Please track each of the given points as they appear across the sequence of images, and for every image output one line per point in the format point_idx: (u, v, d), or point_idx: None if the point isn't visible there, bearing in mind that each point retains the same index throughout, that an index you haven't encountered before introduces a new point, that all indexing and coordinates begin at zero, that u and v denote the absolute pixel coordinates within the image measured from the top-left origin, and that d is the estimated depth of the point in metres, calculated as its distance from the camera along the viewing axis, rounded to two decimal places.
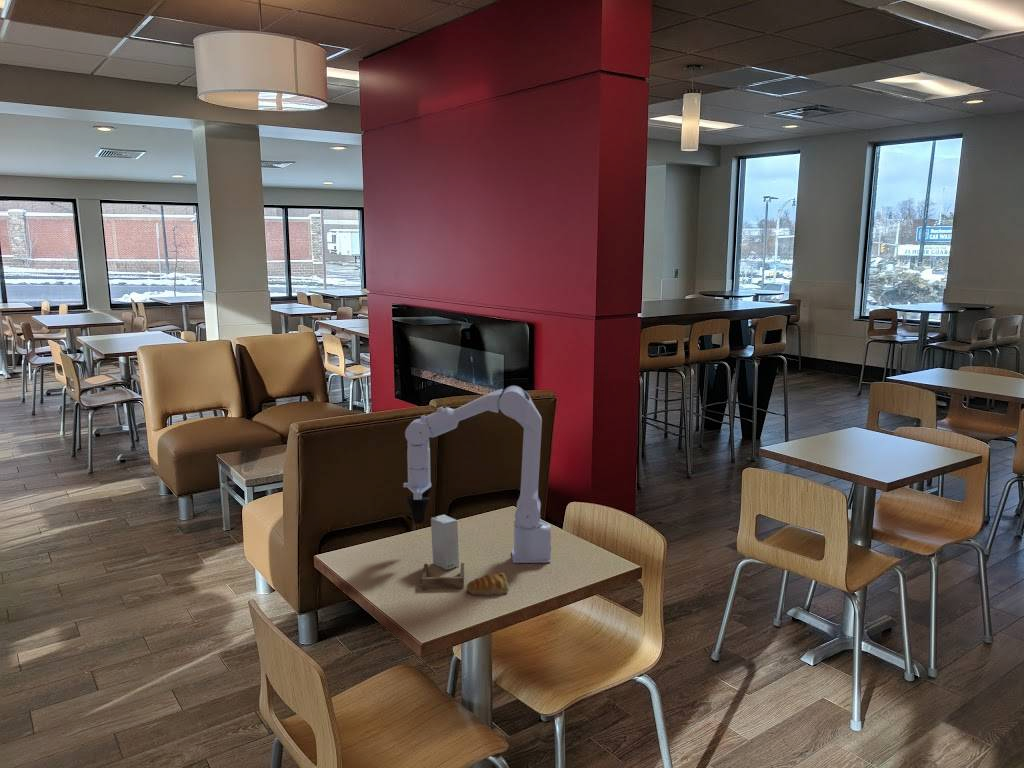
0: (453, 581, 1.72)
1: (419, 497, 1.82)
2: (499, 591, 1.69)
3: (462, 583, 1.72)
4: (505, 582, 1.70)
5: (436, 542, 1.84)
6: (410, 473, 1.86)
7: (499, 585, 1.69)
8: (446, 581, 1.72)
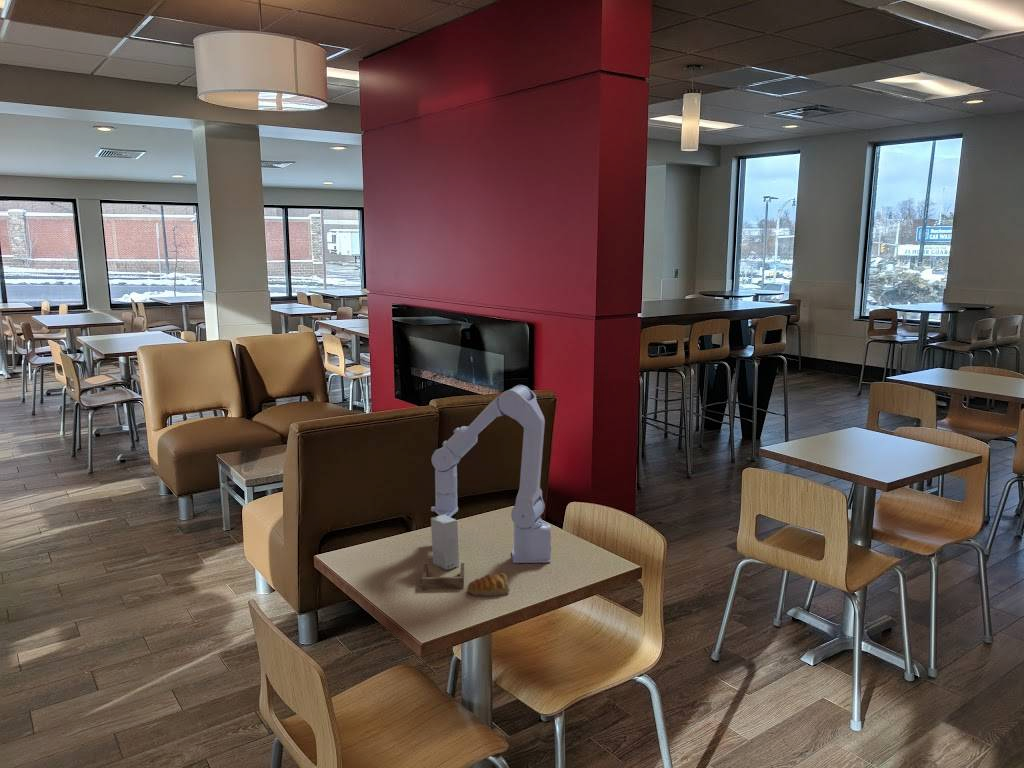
0: (453, 581, 1.72)
1: None
2: (500, 591, 1.69)
3: (462, 583, 1.72)
4: (506, 582, 1.70)
5: (436, 542, 1.84)
6: (438, 497, 1.93)
7: (500, 585, 1.68)
8: (446, 581, 1.72)
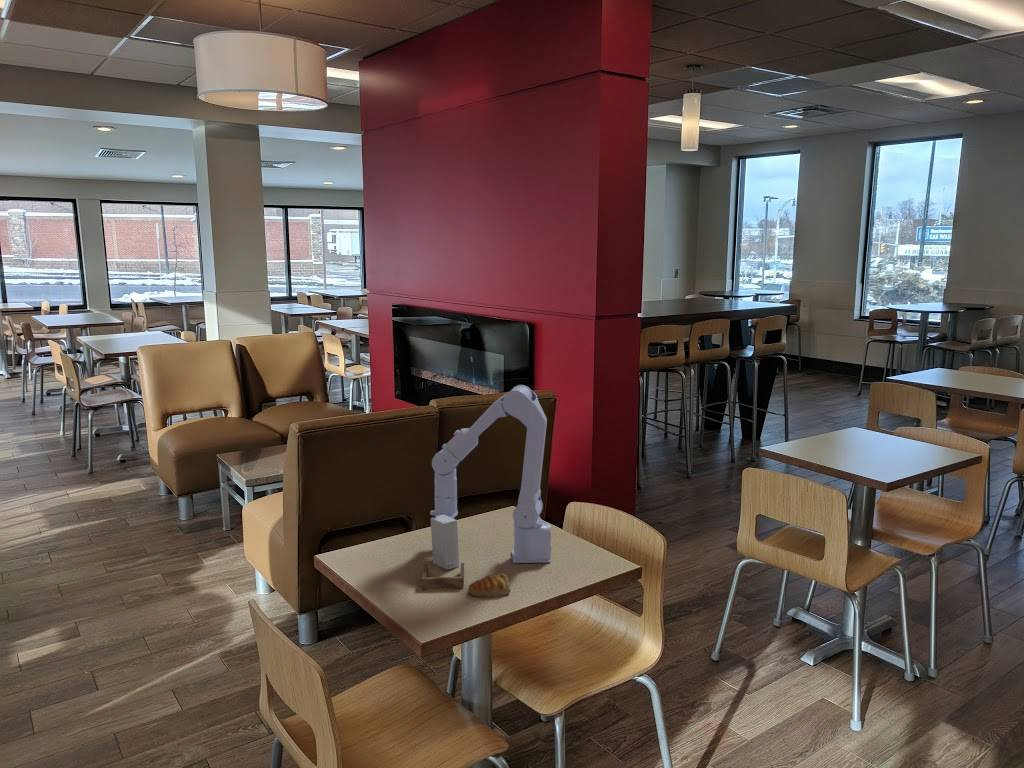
0: (453, 581, 1.72)
1: None
2: (501, 592, 1.68)
3: (462, 583, 1.72)
4: (507, 583, 1.69)
5: (436, 542, 1.84)
6: (437, 501, 1.90)
7: (501, 586, 1.68)
8: (446, 581, 1.72)
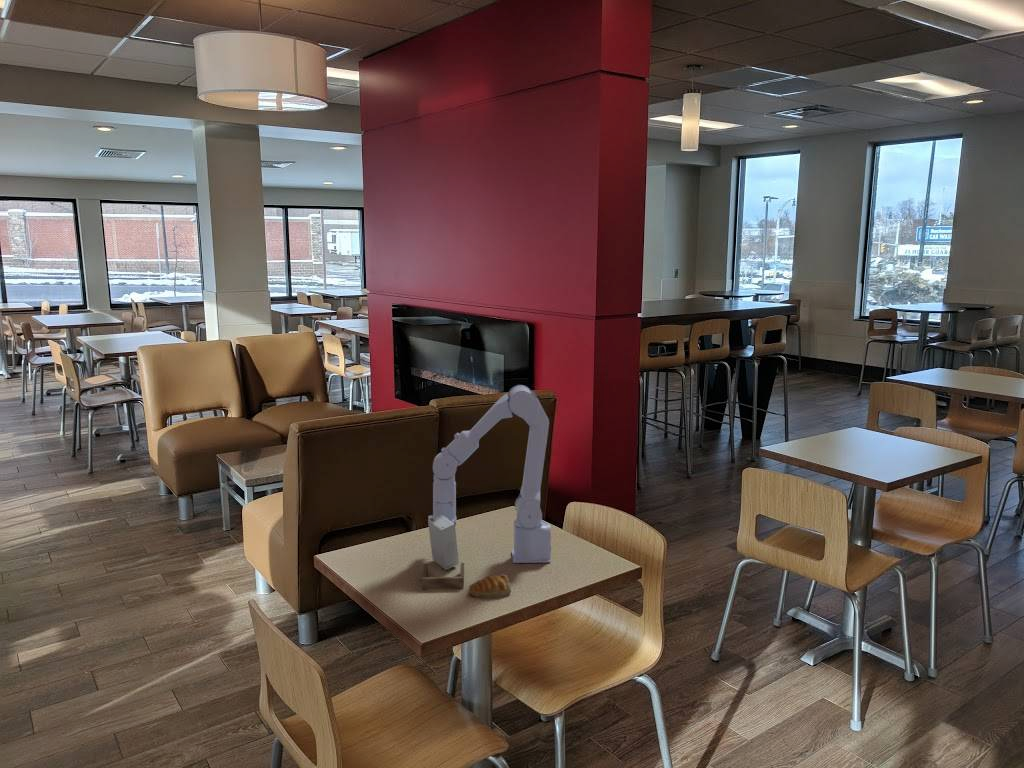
0: (453, 581, 1.72)
1: None
2: (502, 593, 1.68)
3: (462, 583, 1.72)
4: (508, 584, 1.69)
5: (434, 543, 1.82)
6: (435, 506, 1.85)
7: (502, 586, 1.68)
8: (446, 581, 1.72)
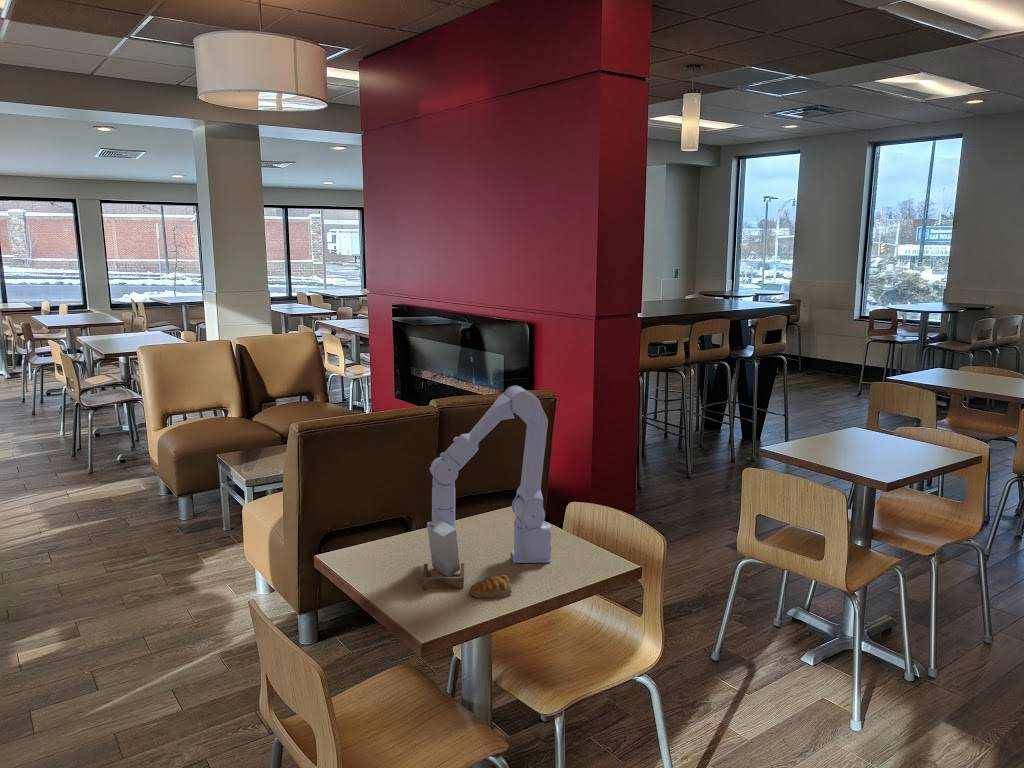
0: (453, 581, 1.72)
1: None
2: (503, 593, 1.68)
3: (462, 583, 1.72)
4: (508, 584, 1.69)
5: (435, 550, 1.77)
6: (434, 513, 1.81)
7: (503, 587, 1.67)
8: (446, 581, 1.72)
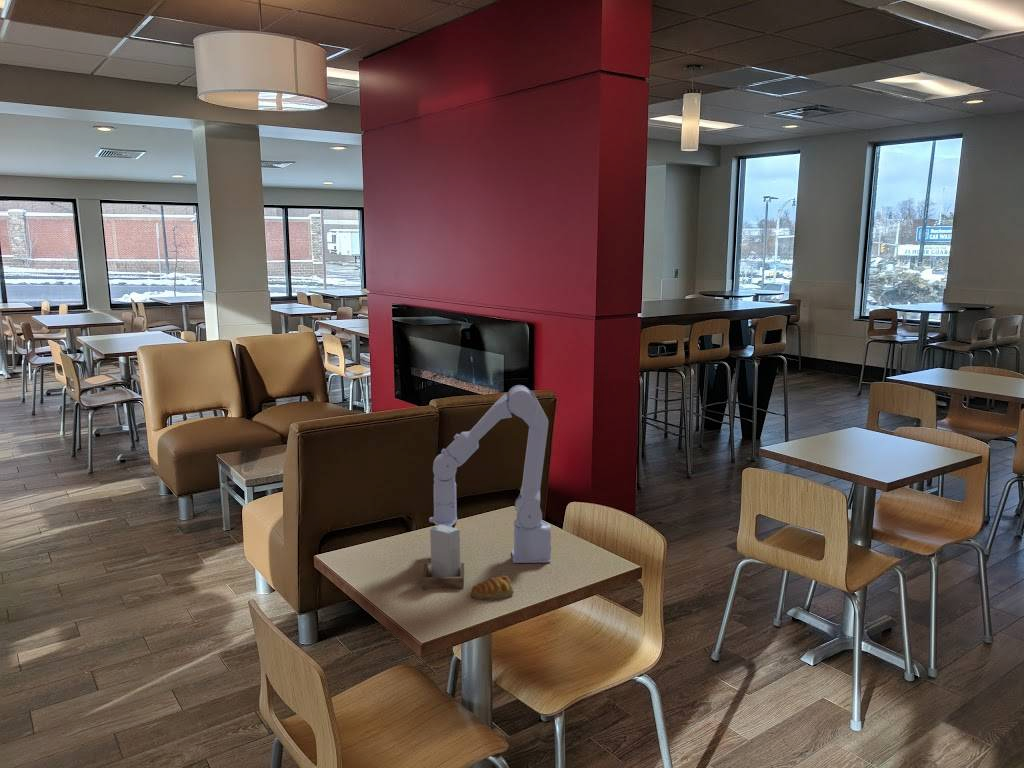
0: (453, 581, 1.72)
1: None
2: (505, 594, 1.67)
3: (462, 583, 1.72)
4: (510, 585, 1.68)
5: (437, 553, 1.76)
6: (436, 508, 1.85)
7: (505, 588, 1.67)
8: (446, 581, 1.72)
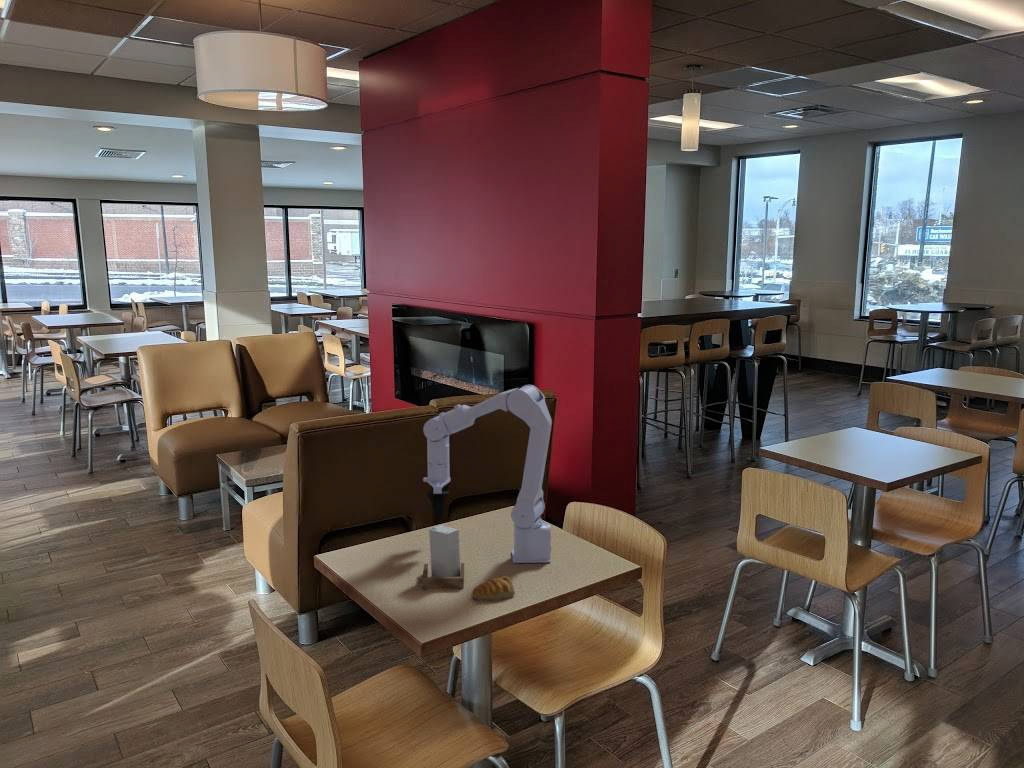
0: (453, 581, 1.72)
1: (439, 491, 1.88)
2: (506, 595, 1.67)
3: (462, 583, 1.72)
4: (511, 585, 1.68)
5: (436, 554, 1.76)
6: (430, 468, 1.93)
7: (506, 588, 1.67)
8: (446, 581, 1.72)
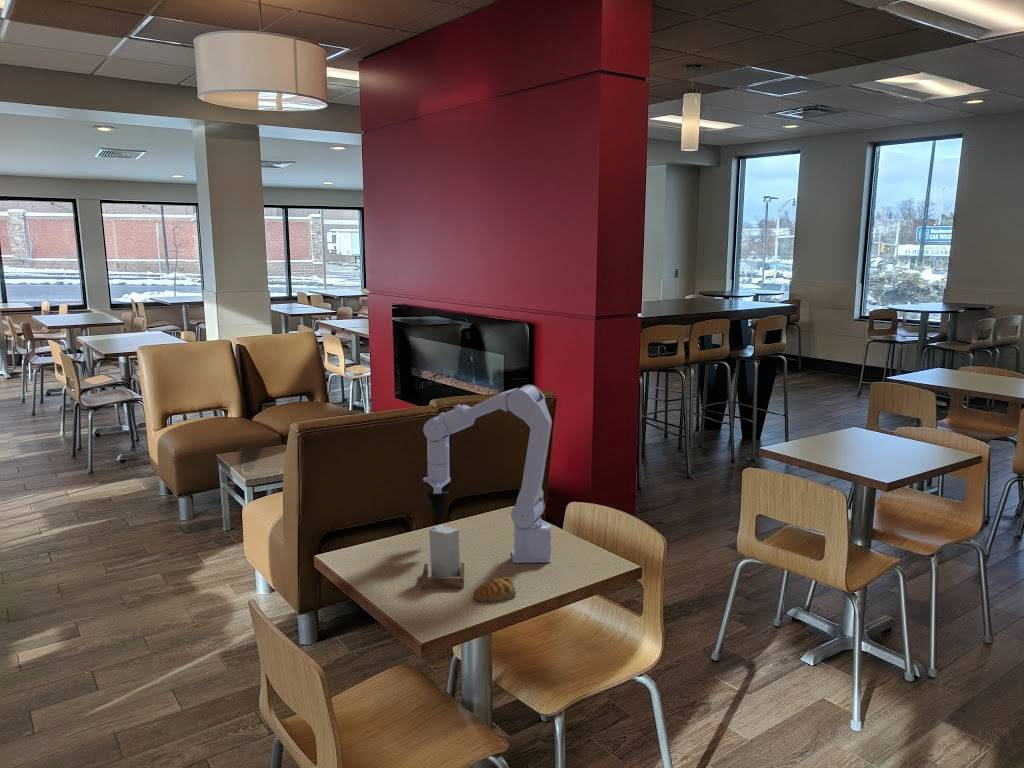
0: (453, 581, 1.72)
1: (439, 491, 1.88)
2: (508, 595, 1.67)
3: (462, 583, 1.72)
4: (512, 586, 1.68)
5: (436, 554, 1.76)
6: (430, 468, 1.93)
7: (508, 589, 1.66)
8: (446, 581, 1.72)
